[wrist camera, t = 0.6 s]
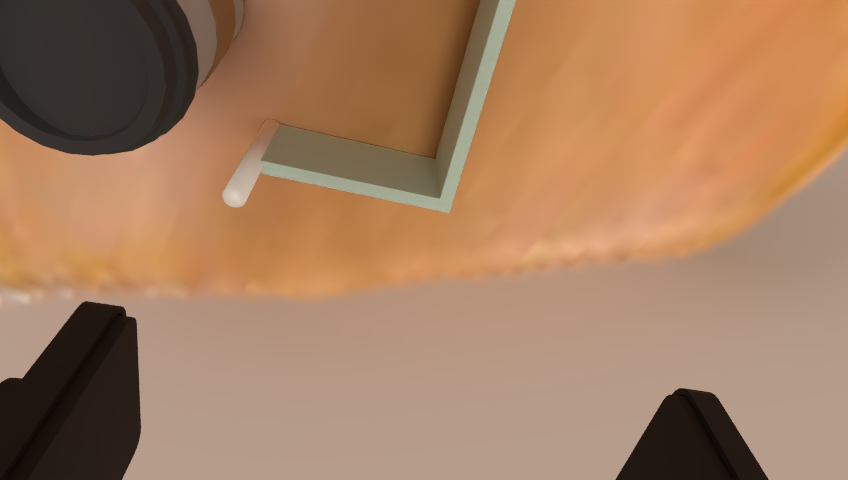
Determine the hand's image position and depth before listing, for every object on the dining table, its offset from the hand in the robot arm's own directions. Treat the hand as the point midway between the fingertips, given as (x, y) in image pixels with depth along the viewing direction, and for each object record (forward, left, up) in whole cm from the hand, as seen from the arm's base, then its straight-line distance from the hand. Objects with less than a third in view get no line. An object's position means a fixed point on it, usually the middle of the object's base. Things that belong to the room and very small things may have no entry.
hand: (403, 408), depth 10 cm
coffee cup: (+1, -12, -30) cm, 32 cm away
